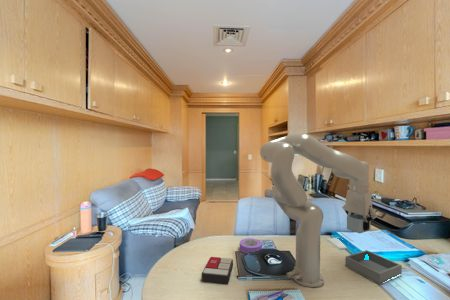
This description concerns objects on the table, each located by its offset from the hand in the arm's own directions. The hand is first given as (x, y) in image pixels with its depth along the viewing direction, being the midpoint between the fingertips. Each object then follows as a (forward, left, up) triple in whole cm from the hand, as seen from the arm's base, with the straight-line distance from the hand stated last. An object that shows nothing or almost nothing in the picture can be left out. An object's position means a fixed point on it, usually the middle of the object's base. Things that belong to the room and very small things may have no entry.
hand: (358, 227), depth 103 cm
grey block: (0, 0, -1) cm, 1 cm away
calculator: (-60, +22, -18) cm, 67 cm away
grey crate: (+2, -5, -18) cm, 19 cm away
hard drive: (+12, +19, -19) cm, 29 cm away
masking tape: (-36, +35, -18) cm, 53 cm away
